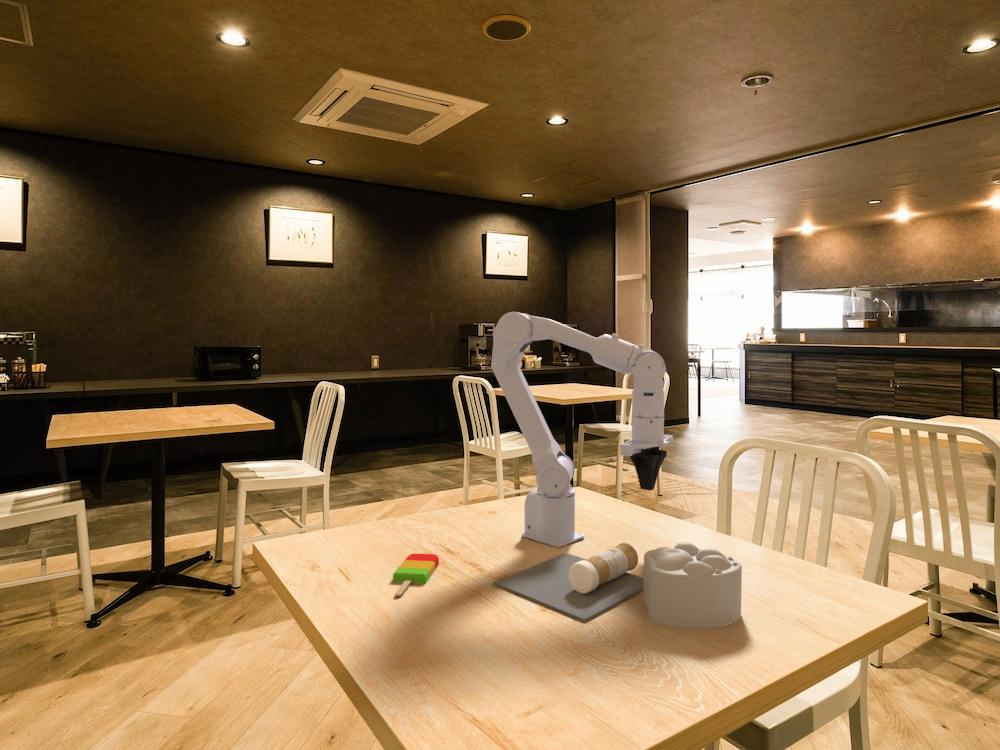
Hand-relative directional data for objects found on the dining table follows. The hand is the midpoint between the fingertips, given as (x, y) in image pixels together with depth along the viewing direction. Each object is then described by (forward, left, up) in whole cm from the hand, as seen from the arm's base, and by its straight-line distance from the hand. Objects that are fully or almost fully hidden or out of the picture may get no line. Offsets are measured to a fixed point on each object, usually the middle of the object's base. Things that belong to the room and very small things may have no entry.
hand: (647, 489), depth 114 cm
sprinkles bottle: (+5, -13, -8) cm, 16 cm away
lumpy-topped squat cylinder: (+19, -19, -11) cm, 29 cm away
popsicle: (-18, -40, -11) cm, 45 cm away
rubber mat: (+2, -24, -10) cm, 26 cm away
